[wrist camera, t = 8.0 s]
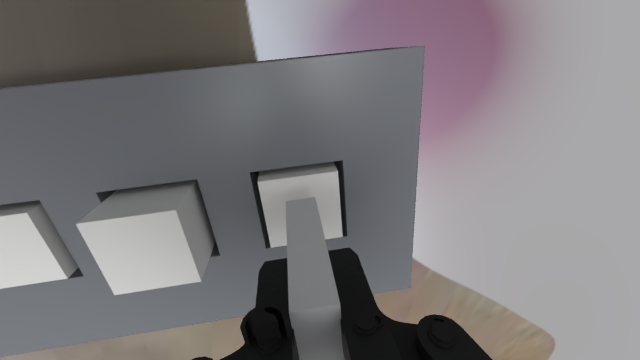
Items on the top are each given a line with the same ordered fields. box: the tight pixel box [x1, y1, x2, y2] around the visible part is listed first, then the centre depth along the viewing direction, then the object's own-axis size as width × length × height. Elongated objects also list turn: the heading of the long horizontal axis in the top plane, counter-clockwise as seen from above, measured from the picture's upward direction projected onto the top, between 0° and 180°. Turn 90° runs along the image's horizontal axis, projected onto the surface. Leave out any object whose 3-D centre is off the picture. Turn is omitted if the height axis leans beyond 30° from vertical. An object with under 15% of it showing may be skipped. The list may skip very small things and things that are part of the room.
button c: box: [257, 162, 343, 248], centre depth 18 cm, size 4×4×4 cm
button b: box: [76, 179, 216, 295], centre depth 16 cm, size 4×4×4 cm
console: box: [0, 46, 425, 357], centre depth 18 cm, size 16×30×5 cm, turn 95°
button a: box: [0, 200, 78, 289], centre depth 17 cm, size 4×4×4 cm
